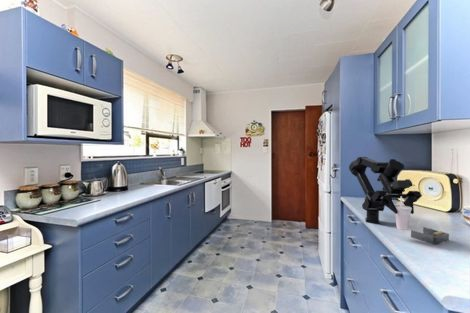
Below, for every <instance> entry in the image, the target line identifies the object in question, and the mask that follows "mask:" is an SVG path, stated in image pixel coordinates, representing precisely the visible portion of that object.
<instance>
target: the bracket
mask: <svg viewBox="0 0 470 313" xmlns="http://www.w3.org/2000/svg"><path fill="white" fill-rule="evenodd" d="M422 229H423V230H422V232H420V231H418V230H417V231H416V230H413V229H411V230H410V238H413V239H417V240H420V241H422V242H426V243H429V244H432V245H435V246H437V245H439V244H443V243H447V242H449V239H450V238H449V237H450V234H449V233H447V232H444V231H442V230H437V229H436V230H435V229H432V228H429V227H427V226H426V227H425V226H423V227H422Z"/></svg>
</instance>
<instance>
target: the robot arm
mask: <svg viewBox="0 0 470 313" xmlns="http://www.w3.org/2000/svg"><path fill="white" fill-rule="evenodd" d="M368 168H369V169H370V171H371V172H372V173H373V174H377V175H378V174H379V175H378V177H377V179H376V180H377V182H380V183H381V185H382V190H380V189H379V190H378V189H377V190H375V188H374V187H373V186H372V184H371V182H370V180H369V178H368V176H367V174H366V171H367V169H368ZM404 169H405V165H404V163H402V162H400V161H398V160H397V159H395V158H391V159H390V160H389V161H378V160H377V161H376V160H374V159H371V158H369V157H367V156H359V157H357V158H356V159H355V160H353V161H352V162H351V163H350V164H349V165H348V170H349V171H350V173H351V175H353V176H355V177H356V179H357V181H358V182H359V185H360V186H361V188H362V190H363V192H364V195H365V196H364V197H365V198H364V201H363V203H362V206H361V207H362V209H363V211H364V210H365V211H366V213H365V214H366V217H365V222H366V223H373V224H378V225H379V224H381V220H380V212H384V210H385V207H386V208H387V209H389V210H390V211H391V212H393V213H394V214H397V213H398V212H397V209H396V207H395V205H396V204H395V203H394V201H393V199H400V198H401V196H402V200H403V202H402V205H405V206H409V207H411V208H412V211H411V214H410V215H413V214H414V213H415V210H414V203H417V201H418V200H420V199H421V198H422V197H423V194H422V193H421V192H420V191H419V190H409V191H408V192H407V193H404V192H406V189H409V188H410V187H411V188H412V187H413V182H412V180H411V179H409V178H408V179H407V178H406V179H398V180H396V179H395V178H398V176H399V175H400V174H401V172H402V171H403V170H404Z"/></svg>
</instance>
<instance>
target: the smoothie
mask: <svg viewBox="0 0 470 313" xmlns="http://www.w3.org/2000/svg"><path fill="white" fill-rule="evenodd" d="M394 205H395V207H396V209H397V212H398V213H397V214H395V213H394V214H395V224H396V228H397V229H398V230H401V231H407V230H408V229H409V223H410V219H411V215H412V214H411V211H412V208H411V207H409V206H405V205H404V204H403V199H402V196H401V198H400V204H394Z"/></svg>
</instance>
